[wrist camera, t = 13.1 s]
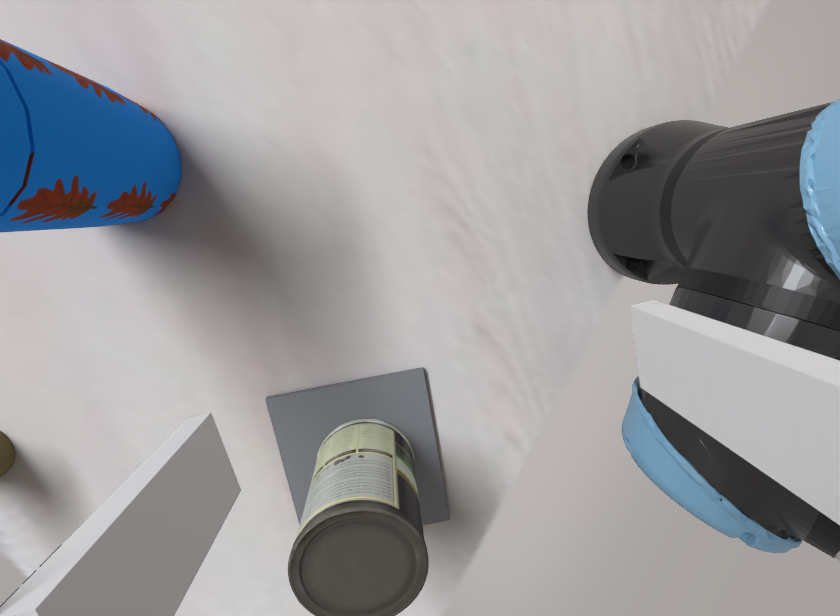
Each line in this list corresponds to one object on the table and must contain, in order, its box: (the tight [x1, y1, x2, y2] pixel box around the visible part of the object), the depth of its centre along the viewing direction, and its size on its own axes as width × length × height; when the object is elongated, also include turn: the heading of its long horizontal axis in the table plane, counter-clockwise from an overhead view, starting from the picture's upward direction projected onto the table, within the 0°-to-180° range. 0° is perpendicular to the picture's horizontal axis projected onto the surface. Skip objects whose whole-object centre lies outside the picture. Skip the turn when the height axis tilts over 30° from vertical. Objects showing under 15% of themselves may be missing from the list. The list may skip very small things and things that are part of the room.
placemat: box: [266, 367, 450, 525], centre depth 46 cm, size 16×18×1 cm
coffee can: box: [288, 419, 428, 616], centre depth 39 cm, size 10×10×14 cm
